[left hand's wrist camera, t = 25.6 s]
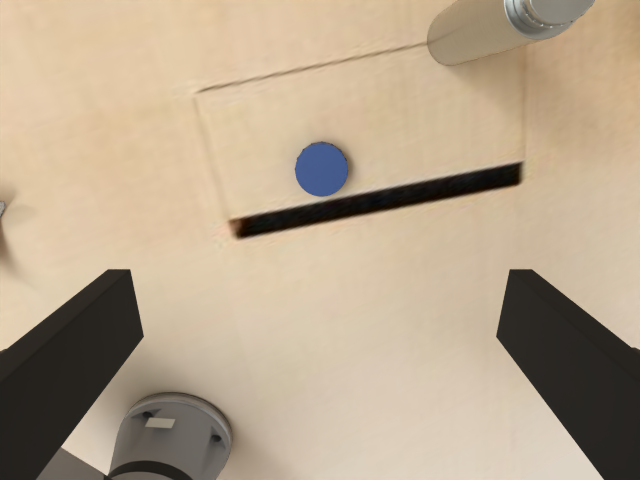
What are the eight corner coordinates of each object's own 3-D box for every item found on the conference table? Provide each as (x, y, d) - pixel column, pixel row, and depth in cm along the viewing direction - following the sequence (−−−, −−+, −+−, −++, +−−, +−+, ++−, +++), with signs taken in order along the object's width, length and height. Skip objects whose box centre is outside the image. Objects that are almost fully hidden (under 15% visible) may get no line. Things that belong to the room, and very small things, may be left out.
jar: (427, 68, 35) (514, 40, 19) (426, 11, 33) (521, -71, 18) (477, 62, 35) (606, 29, 19) (479, 4, 33) (623, -84, 18)
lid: (356, 161, 38) (358, 164, 37) (327, 202, 40) (327, 206, 38) (314, 131, 37) (314, 132, 36) (286, 174, 39) (284, 177, 37)
